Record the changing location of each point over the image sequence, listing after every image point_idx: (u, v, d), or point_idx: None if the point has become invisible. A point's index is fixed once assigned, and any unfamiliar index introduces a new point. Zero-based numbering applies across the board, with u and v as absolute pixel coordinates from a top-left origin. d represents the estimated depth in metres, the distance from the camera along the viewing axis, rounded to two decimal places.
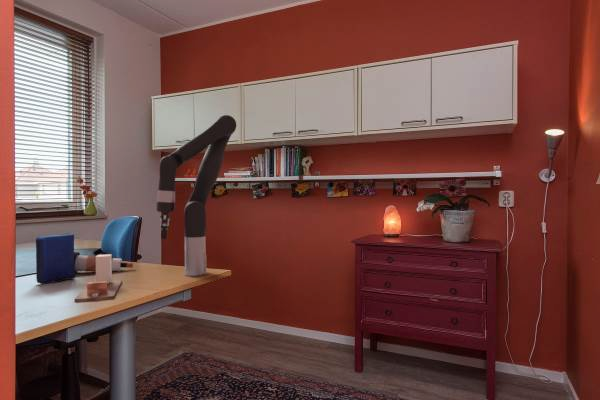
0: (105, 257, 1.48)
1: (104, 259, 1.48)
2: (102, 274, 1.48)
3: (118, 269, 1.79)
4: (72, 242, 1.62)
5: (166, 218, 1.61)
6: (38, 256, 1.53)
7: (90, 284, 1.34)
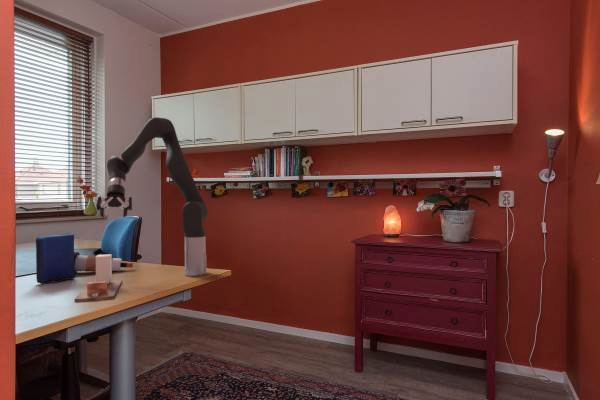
0: (105, 257, 1.48)
1: (104, 259, 1.48)
2: (102, 274, 1.48)
3: (118, 269, 1.79)
4: (72, 242, 1.62)
5: None
6: (38, 256, 1.53)
7: (90, 284, 1.34)
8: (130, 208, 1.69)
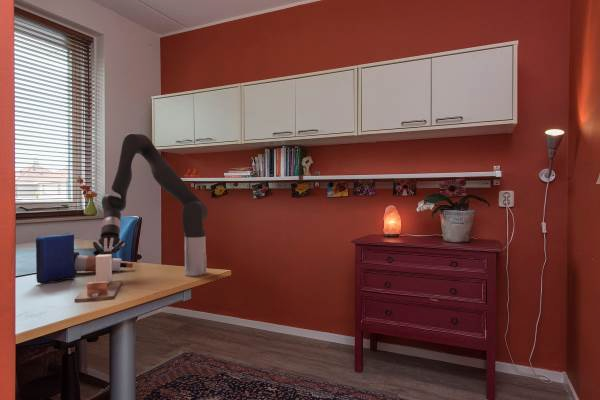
0: (105, 257, 1.48)
1: (104, 259, 1.48)
2: (102, 274, 1.48)
3: (118, 269, 1.78)
4: (72, 242, 1.62)
5: (94, 245, 1.62)
6: (38, 256, 1.53)
7: (90, 284, 1.34)
8: (114, 251, 1.63)
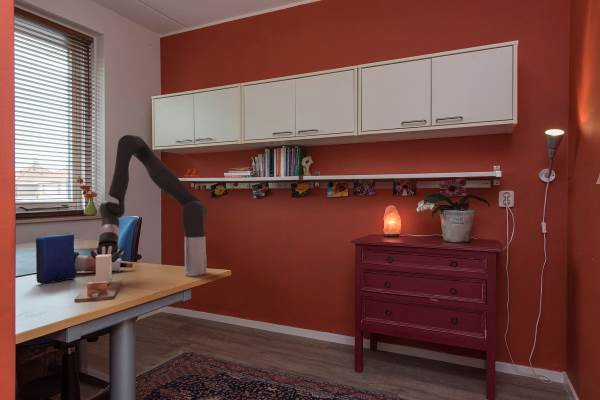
0: (104, 257, 1.48)
1: (104, 260, 1.48)
2: (102, 274, 1.48)
3: (118, 269, 1.78)
4: (72, 242, 1.62)
5: (92, 254, 1.56)
6: (38, 256, 1.53)
7: (90, 284, 1.34)
8: (113, 260, 1.57)
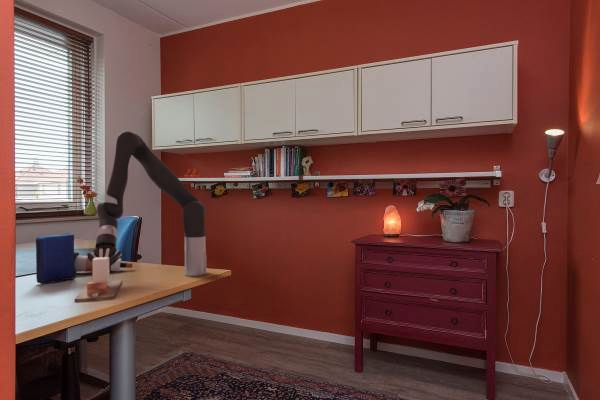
0: (102, 260, 1.42)
1: (102, 262, 1.42)
2: (99, 277, 1.42)
3: (118, 269, 1.78)
4: (72, 242, 1.62)
5: (88, 257, 1.50)
6: (38, 256, 1.53)
7: (90, 284, 1.34)
8: (111, 263, 1.51)
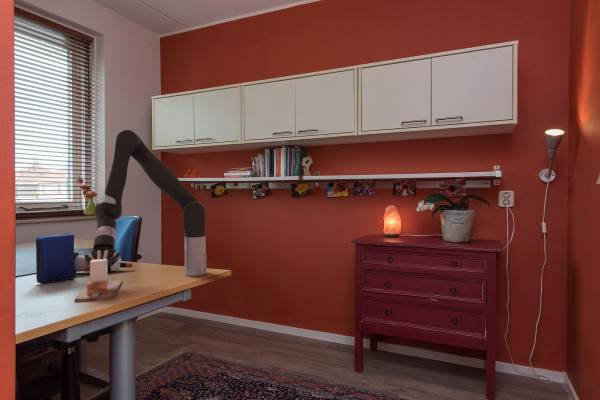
0: (100, 262, 1.37)
1: (100, 265, 1.37)
2: (97, 280, 1.37)
3: (118, 269, 1.78)
4: (72, 242, 1.62)
5: (86, 259, 1.45)
6: (38, 256, 1.53)
7: (90, 284, 1.34)
8: (109, 265, 1.46)
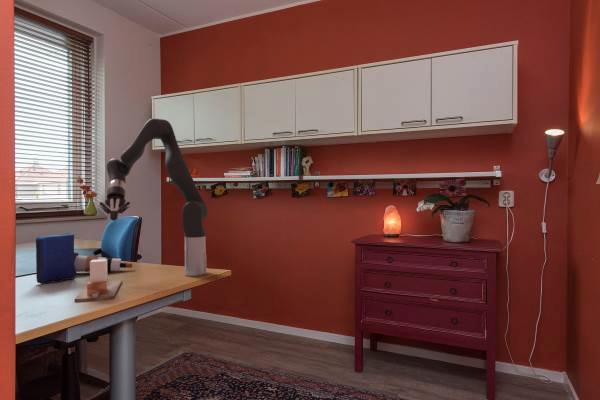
0: (99, 262, 1.37)
1: (99, 265, 1.37)
2: (97, 280, 1.37)
3: (118, 269, 1.78)
4: (72, 242, 1.62)
5: (101, 205, 1.67)
6: (38, 256, 1.53)
7: (90, 284, 1.34)
8: (120, 211, 1.68)
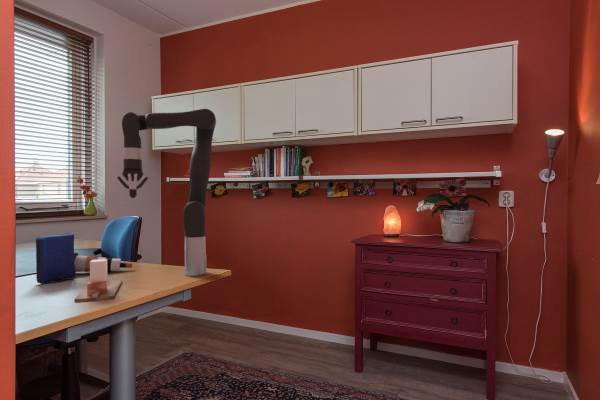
0: (99, 262, 1.37)
1: (99, 265, 1.37)
2: (97, 280, 1.37)
3: (117, 269, 1.78)
4: (72, 242, 1.62)
5: (119, 180, 1.64)
6: (38, 256, 1.53)
7: (90, 284, 1.34)
8: None
